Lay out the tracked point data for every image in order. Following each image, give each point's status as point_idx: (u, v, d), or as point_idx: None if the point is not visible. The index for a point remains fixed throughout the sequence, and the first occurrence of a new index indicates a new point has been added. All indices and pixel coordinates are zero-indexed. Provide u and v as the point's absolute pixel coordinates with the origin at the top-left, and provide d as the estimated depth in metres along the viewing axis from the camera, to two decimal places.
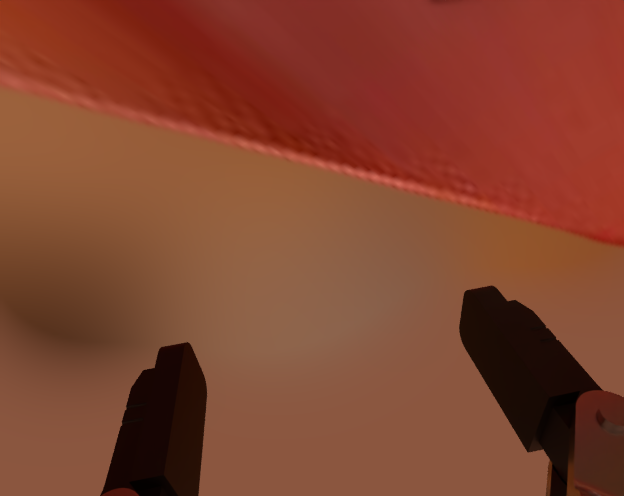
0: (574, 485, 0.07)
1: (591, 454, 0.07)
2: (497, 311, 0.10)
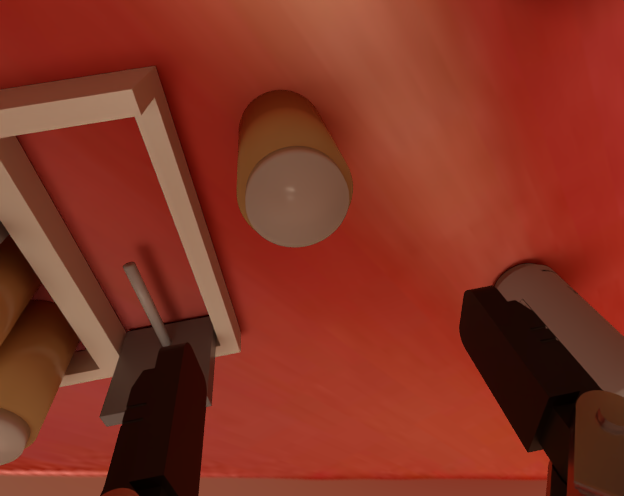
0: (574, 484, 0.07)
1: (591, 454, 0.07)
2: (497, 311, 0.10)
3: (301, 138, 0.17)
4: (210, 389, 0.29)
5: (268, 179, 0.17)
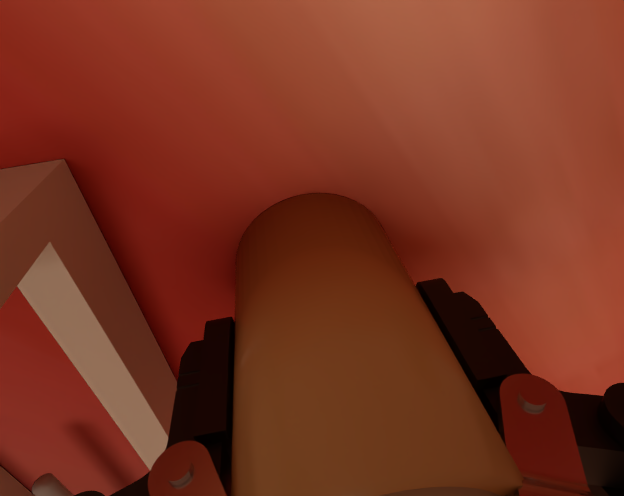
0: None
1: (519, 438, 0.07)
2: (442, 301, 0.11)
3: (426, 477, 0.06)
4: None
5: None
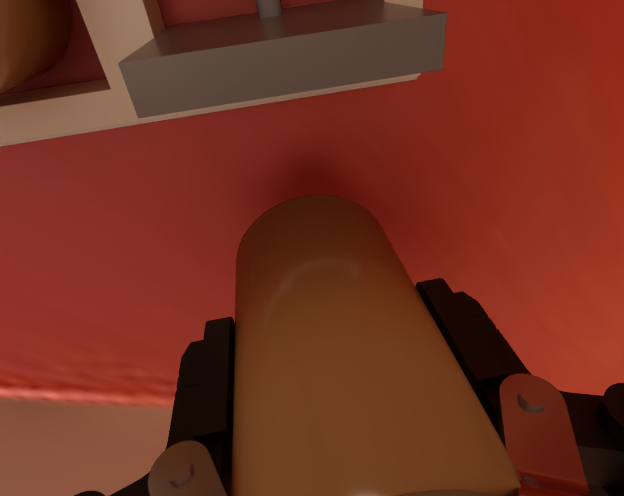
0: None
1: (519, 438, 0.07)
2: (441, 301, 0.11)
3: (426, 479, 0.06)
4: None
5: None
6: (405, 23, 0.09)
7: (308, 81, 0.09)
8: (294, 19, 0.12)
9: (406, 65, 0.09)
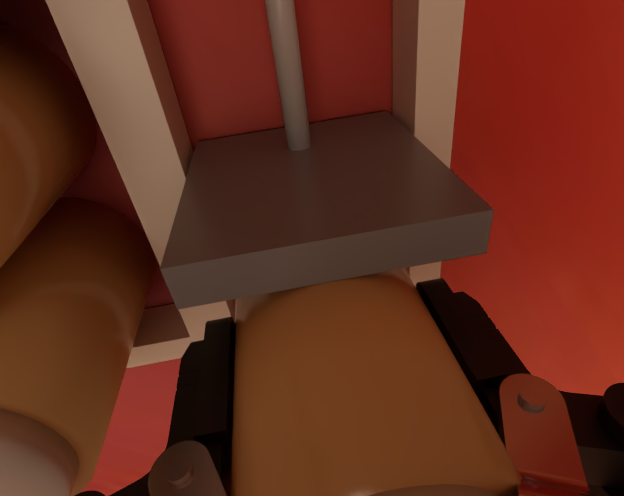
0: None
1: (519, 438, 0.07)
2: (441, 301, 0.11)
3: (425, 474, 0.06)
4: None
5: None
6: (451, 220, 0.09)
7: (350, 270, 0.09)
8: (328, 170, 0.11)
9: (449, 252, 0.09)
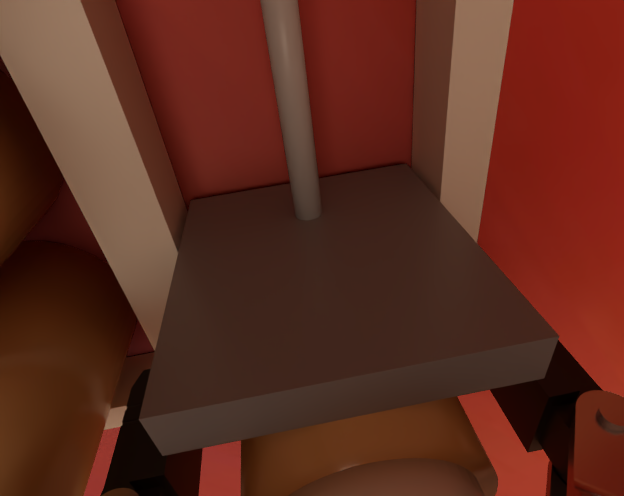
0: (574, 485, 0.07)
1: (591, 454, 0.07)
2: None
3: (402, 448, 0.07)
4: None
5: None
6: (506, 350, 0.07)
7: (378, 406, 0.07)
8: (345, 255, 0.10)
9: (500, 380, 0.07)
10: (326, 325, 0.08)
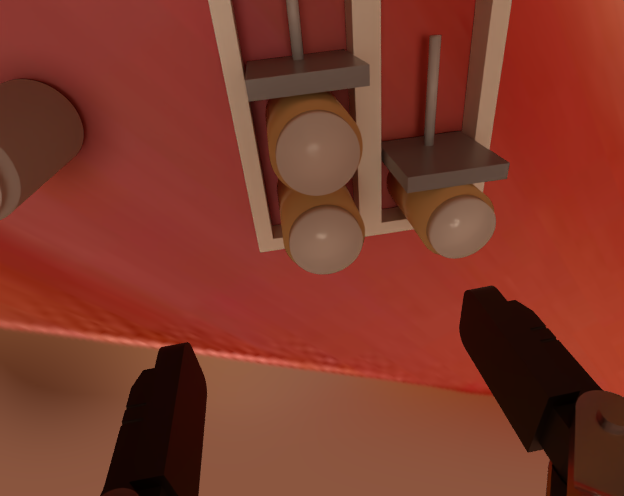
0: (574, 485, 0.07)
1: (591, 454, 0.07)
2: (497, 311, 0.10)
3: (470, 190, 0.28)
4: None
5: (450, 215, 0.28)
6: (496, 166, 0.28)
7: (462, 182, 0.28)
8: (446, 152, 0.31)
9: (495, 177, 0.28)
10: (447, 164, 0.29)
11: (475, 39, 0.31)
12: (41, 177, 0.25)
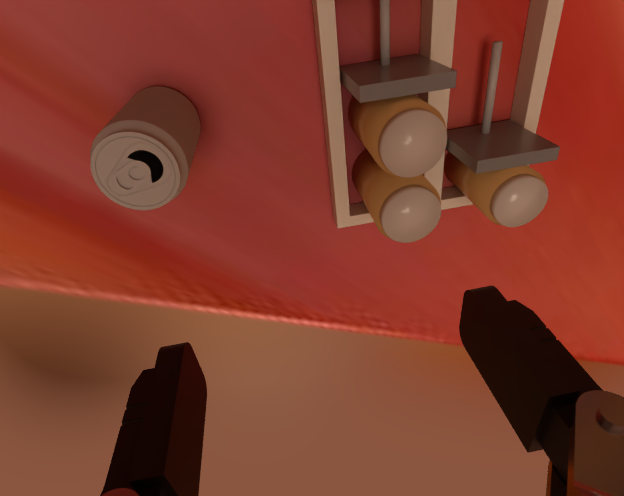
0: (574, 485, 0.07)
1: (591, 454, 0.07)
2: (497, 311, 0.10)
3: (527, 170, 0.34)
4: None
5: (512, 191, 0.34)
6: (549, 149, 0.34)
7: (521, 163, 0.34)
8: (503, 139, 0.37)
9: (547, 159, 0.35)
10: (507, 149, 0.35)
11: (527, 42, 0.36)
12: (190, 167, 0.31)
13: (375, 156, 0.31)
